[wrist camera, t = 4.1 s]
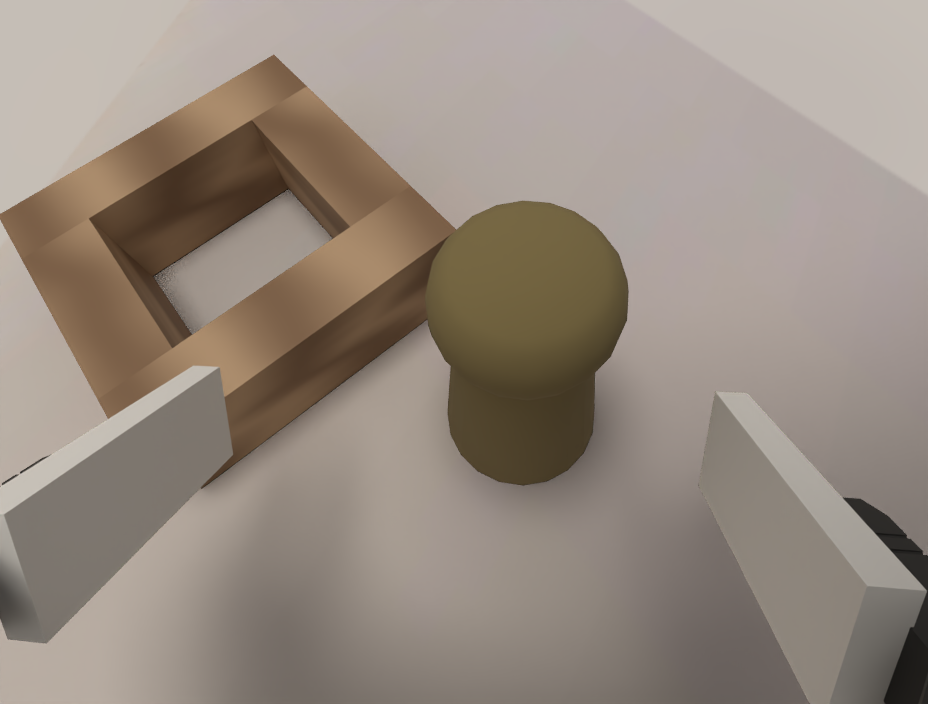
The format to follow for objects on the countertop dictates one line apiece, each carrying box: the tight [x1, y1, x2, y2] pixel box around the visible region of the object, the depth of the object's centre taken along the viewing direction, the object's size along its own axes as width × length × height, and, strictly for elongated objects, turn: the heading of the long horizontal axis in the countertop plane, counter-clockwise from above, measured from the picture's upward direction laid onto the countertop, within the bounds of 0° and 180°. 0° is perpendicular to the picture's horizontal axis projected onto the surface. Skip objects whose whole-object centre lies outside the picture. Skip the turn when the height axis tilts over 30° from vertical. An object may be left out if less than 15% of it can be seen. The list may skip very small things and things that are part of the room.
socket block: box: [0, 55, 456, 489], centre depth 24 cm, size 14×14×4 cm
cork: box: [425, 201, 628, 485], centre depth 18 cm, size 6×6×11 cm
